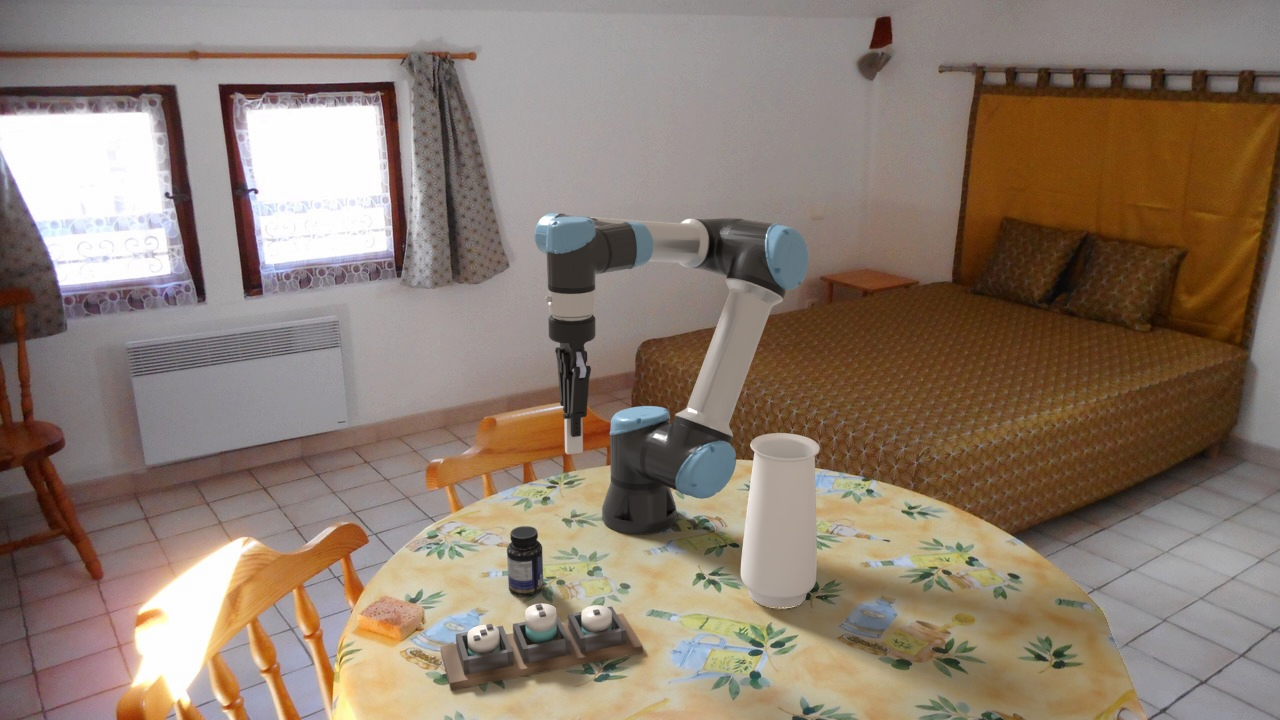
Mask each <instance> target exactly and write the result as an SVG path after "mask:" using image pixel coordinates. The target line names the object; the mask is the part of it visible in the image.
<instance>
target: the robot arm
mask: <svg viewBox="0 0 1280 720" xmlns="http://www.w3.org/2000/svg"><path fill="white" fill-rule="evenodd" d="M534 241H535V245H536V247H537V248H538V249H539V251H540V252H541V253H542V254H544V255H546V271H547V293H548V295H546V296H544V302H546V303H547V304H548V313H549V314H550V316H548V319H547V320H548V338H549V339H550V341H552V342H555V343H559V346H558V347H555V350H554V351H555V352H554V353H555V357H556V363H557V375H558V387H559V388H558V389H559V398H560V399H559V400H560V401H559V404H560V406H561V407H562V411H563V414H562V416H563V419H564V451H565V454H566V455H568V456H569V455H575V454H583V452H584V441H583V440H584V438H583V437H584V432H583V428H584V427H583V424H584V422H583V419H584V418H586V417H587V415H588V401H589V385H590V376H591V371H592V368H591V365H587V362H588V351H587V350H586V349H585V344H587V342H591V341H593V340H594V339H595V337H596V316H594V314H595V313H596V311H597V306H596V305H597V304H596V301H597V300H596V299H597V298H596V296H597V295H596V275H601V274H606V273H607V274H608V273H612V272H619V271H623V270H624V271H625V270H633V269H635V268H638V267H642V266H644V265H646V264H647V263H648V262H649V263H650V262H651V263H652V262H654V263H655V262H656V263H678V264H679V265H680V266H682V267H684V268H686V269H698V270H702V271H707V272H710V273H713V274H718V275H721V276H723V277H724V276H725V277H726V278H725V284H726V286H727V288H728V291H729V293H728V296H727V298H726V301H725V304H724V306H723V308H722V310H721V311H722V312H721V314H720V317H719V320H718V322H717V325H716V327H715V329H714V333H713V335H712V338H711V341H710V343H709V346H708V348H707V352H706V354H705V356H704V359H703V363H702V366H701V368H700V371H699V373H698V376H697V378H696V381H695V384H694V386H693V390H692V392H691V395H690V398H689V400H688V403H687V405H686V408H684V409H683V410H681V411H679V412H677V413H675V414H674V418H673V420H672V422H670V420H671V415H670V411H669V410H668V409H667V408H665V407H661V406H653V405H643V406H634V407H629V408H624V409H621V410H619V411H618V412H616V413H615V414H613V416H612V417H611V420H610V431H609V457H610V458H609V459H610V466H609V467H610V482H609V483H610V484H609V485H608V486H609V487H608V489H607V492H606V494H605V495H606V496H605V498H604V500H603V501H604V502H603V504H602V508H601V519H602V522H603V523H604V524H605V525H606V526H607V527H608V528H609V529H612V530H614V531H616V532H620V533H624V534H631V535H648V534H655V533H660V532H663V531H665V530H667V529H669V528H671V527H673V525H674V524H675V523H676V521H677V505H676V501H675V498H674V496H673V494H672V493H673V492H672V490H675V491H677V492H678V493H680V494H682V495H685V496H690V497H693V498H696V499H702V500H703V499H709V498H712V497H713V496H715V495H717V493H720V492H721V491H723V490H724V488H725V487H726V486H727V485H728V483H729V482H730V480H731V479H732V477H733V474H734V473H735V469H736V466H737V459H736V457H737V452H736V450H735V448H734V447H733V446H732V445H731V443H732V440H733V436H734V434H733V432H732V429H731V428H730V421H731V419H732V417H733V413H734V411H735V408H736V405H737V403H738V401H739V397H740V395H741V392H742V390H743V386H744V384H745V381H746V378H747V375H748V373H749V371H750V368H751V364H752V362H753V360H754V357H755V353H756V352H757V348H758V345H759V343H760V341H761V337H762V335H763V332H764V329H765V327H766V323H767V321H768V318H769V317H770V313H771V310H772V308H773V307H774V306H777V305H778V304H780V303H783V301H784V297H785V295H786V292H787V291H792V290H794V289H797V288H798V287H799V286H800V285H802V283H803V282H804V280H805V278H806V276H807V272H808V268H809V261H810V260H809V259H810V258H809V250H808V244H807V242H806V239H805V238H804V236H803V234H802V233H801V232H800V231H799V230H798V229H796V228H794V227H792V226H786V225H782V224H781V223H776V222H775V223H770V222H764V221H763V222H762V221H757V220H749V219H743V218H739V217H738V218H736V217H727V218H726V217H724V218H723V217H722V218H719V217H717V218H686V219H684V220H682V221H681V222H670V221H669V222H667V221H654V220H653V221H651V220H636V219H625V218H624V219H623V218H612V217H611V218H609V217H595V216H580V215H579V216H578V215H568V214H566V213H560V212H559V213H553V212H552V213H547V214H545V215H544V216H542V217H541V218H540V219H539V220H538V222H537V224H536V226H535V230H534ZM671 489H672V490H671Z"/></svg>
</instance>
